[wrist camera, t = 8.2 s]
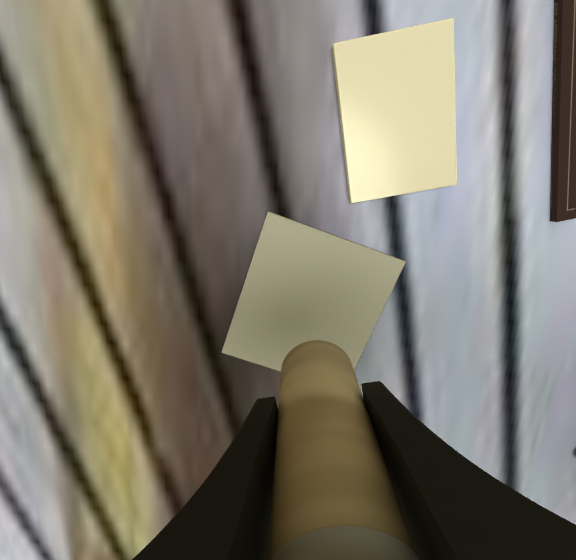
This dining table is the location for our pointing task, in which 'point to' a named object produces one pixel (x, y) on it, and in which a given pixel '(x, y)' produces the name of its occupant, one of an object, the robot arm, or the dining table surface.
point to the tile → (397, 110)
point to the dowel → (330, 467)
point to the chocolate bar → (563, 113)
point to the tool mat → (308, 293)
